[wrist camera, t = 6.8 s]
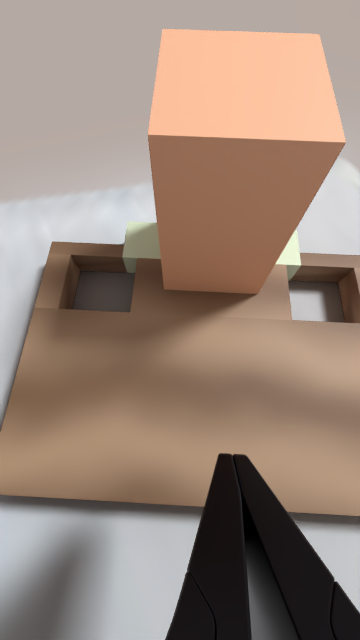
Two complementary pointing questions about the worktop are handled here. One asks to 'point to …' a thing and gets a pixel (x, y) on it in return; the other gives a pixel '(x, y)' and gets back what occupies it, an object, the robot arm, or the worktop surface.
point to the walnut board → (185, 389)
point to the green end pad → (146, 245)
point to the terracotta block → (237, 151)
